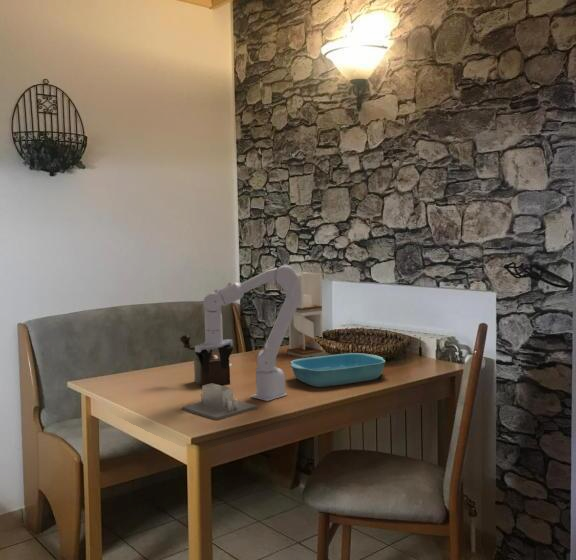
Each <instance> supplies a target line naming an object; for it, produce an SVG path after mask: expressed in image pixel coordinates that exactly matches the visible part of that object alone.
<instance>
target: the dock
mask: <svg viewBox="0 0 576 560" xmlns="http://www.w3.org/2000/svg"><path fill="white" fill-rule="evenodd" d="M257 408H258V406H257V405H256V404H252V403H248V402H245V401H240V400H239V399H237V398H235V399H234V398H233V408H232V401H228V409H226V410H220V409H217V408H214V407H210V406H207V405H203V396H202V393H201V394H200V401H198V402H195V403H191V404H188V405H183V406H181V410H182V411H187V412H189V413H192V414H196V415H199V416H202V417H205V418H208V419H211V418H212V419H211V420H214V419H215V421H219V420H222V419H225V418H229V417H232V415H233V416H235V415H236V416H237V415H239V414H242V413H245V411H246V412H248V411H252V410H255V409H257Z"/></svg>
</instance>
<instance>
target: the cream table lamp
mask: <svg viewBox="0 0 576 560" xmlns="http://www.w3.org/2000/svg"><path fill="white" fill-rule="evenodd" d="M295 273H296V275H297V277H298V281H299V286H300V291H301V299H300V302H299V304H298V306H297V309H296V311H295V313H294V315H293V318H292V320H291V322H290V325H289V327H288V330H289V331H288V332H289V333H288V337H289V338H288V339H289V341H288V342H289V348H287V349H286V350H287V353H288V354H287V355H290V354H292V355H291V356H294V355H295V357H297V356H299V357H298V358H301V357H302V358H301V359H303V357H306V358H309V357H308V356H312V357H315V356H314V355H317V356H321V355H320V354H324V352H323V350H324V348H323V349H322V347H321V346H320V345H319V344H317V343H316V342H315V341H314V337H315V336H319V337H322V338H323V298H322V297H323V296H322V295H323V294H322V292H323V290H322V273H317V272H316V273H315V272H305V271H304V272H295Z"/></svg>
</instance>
